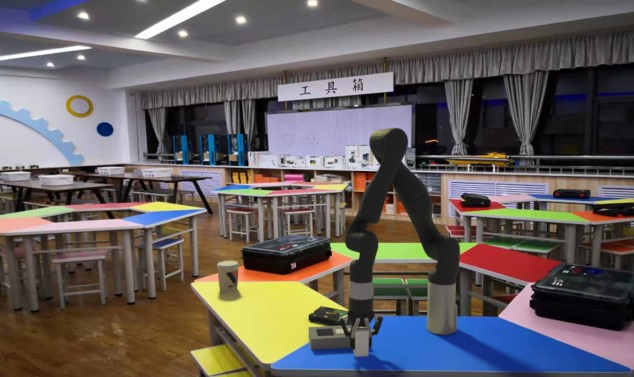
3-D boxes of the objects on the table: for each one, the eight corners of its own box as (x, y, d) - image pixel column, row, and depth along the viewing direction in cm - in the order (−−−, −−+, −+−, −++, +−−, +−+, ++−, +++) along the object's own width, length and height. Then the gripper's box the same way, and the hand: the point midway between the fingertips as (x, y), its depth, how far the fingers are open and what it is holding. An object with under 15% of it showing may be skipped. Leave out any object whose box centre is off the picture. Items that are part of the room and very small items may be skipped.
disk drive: (308, 322, 161) (345, 329, 154) (307, 315, 160) (345, 322, 154) (320, 312, 170) (356, 319, 163) (320, 305, 170) (356, 311, 163)
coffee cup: (229, 294, 188) (228, 267, 187) (213, 290, 193) (212, 264, 192) (243, 288, 196) (242, 262, 195) (227, 284, 201) (226, 259, 200)
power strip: (361, 334, 149) (361, 323, 149) (367, 346, 140) (367, 334, 140) (308, 337, 147) (308, 325, 147) (311, 349, 138) (311, 337, 138)
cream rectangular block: (365, 349, 138) (365, 325, 137) (368, 356, 134) (368, 330, 133) (353, 350, 138) (353, 325, 137) (355, 356, 134) (355, 331, 133)
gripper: (380, 289, 138) (380, 341, 140) (336, 291, 137) (336, 343, 139) (387, 297, 131) (386, 352, 133) (339, 299, 129) (339, 355, 131)
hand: (360, 347), depth 136 cm, fingers closed on cream rectangular block, 4 cm apart
